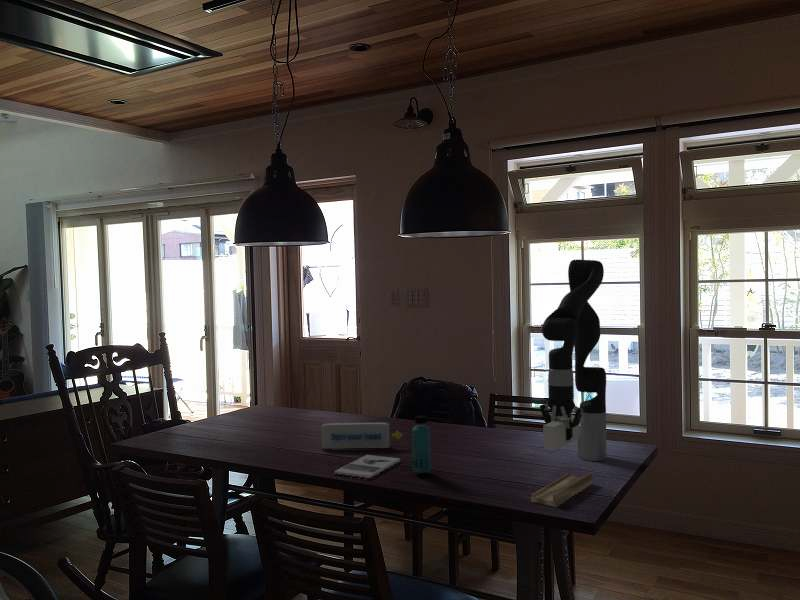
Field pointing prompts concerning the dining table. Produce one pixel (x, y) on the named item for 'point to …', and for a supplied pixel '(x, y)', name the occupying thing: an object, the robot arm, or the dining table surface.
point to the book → (368, 466)
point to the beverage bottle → (421, 446)
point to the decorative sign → (356, 435)
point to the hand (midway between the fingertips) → (561, 438)
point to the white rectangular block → (558, 434)
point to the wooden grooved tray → (561, 490)
